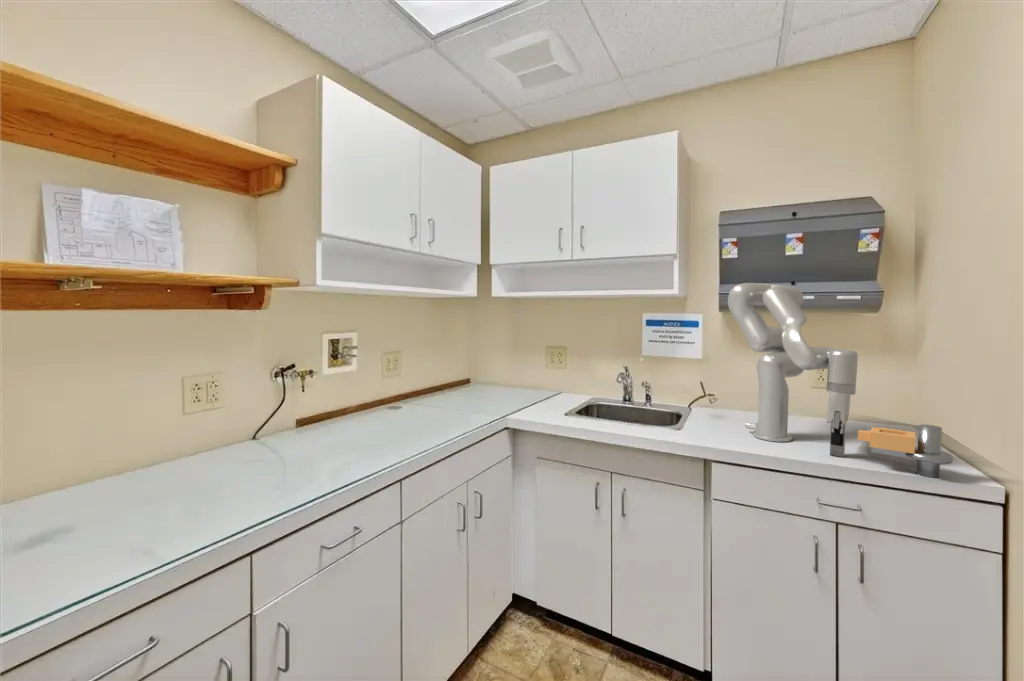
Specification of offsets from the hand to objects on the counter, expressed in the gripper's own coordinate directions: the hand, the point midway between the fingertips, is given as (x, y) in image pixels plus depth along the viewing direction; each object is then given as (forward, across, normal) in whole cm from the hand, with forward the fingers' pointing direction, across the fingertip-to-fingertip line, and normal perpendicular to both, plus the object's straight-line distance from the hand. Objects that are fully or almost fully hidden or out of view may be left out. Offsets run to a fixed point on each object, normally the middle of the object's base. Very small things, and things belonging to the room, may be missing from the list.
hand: (837, 443), depth 144 cm
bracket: (-3, +4, +12) cm, 13 cm away
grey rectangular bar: (+4, 0, 0) cm, 4 cm away
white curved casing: (+4, -10, +14) cm, 17 cm away
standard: (+4, +4, +18) cm, 19 cm away
